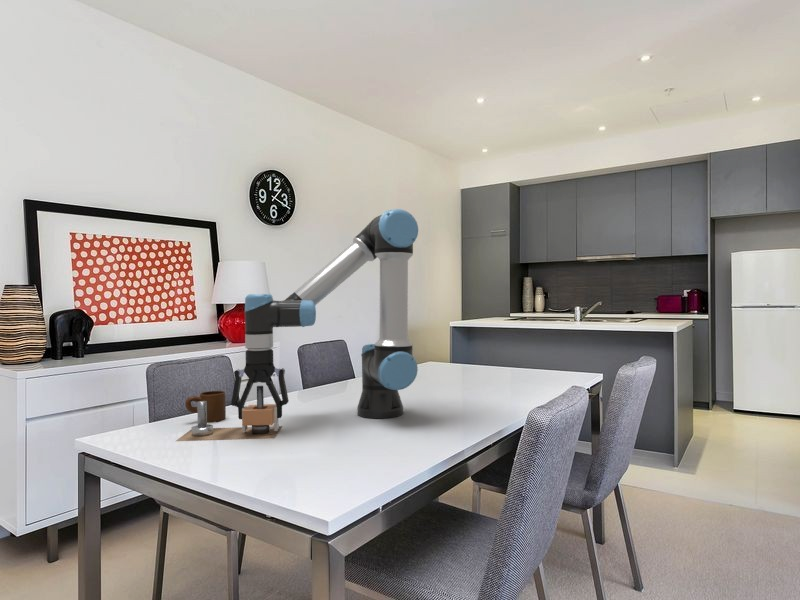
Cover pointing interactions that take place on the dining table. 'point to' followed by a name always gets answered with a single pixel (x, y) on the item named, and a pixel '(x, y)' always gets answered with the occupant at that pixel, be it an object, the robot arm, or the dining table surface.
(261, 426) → the stand
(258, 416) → the square wooden nut
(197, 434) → the grey metal post
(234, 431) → the board
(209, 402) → the mug
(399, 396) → the robot arm
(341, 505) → the dining table surface
